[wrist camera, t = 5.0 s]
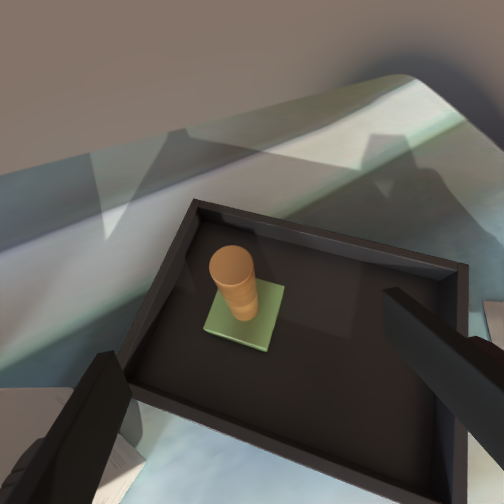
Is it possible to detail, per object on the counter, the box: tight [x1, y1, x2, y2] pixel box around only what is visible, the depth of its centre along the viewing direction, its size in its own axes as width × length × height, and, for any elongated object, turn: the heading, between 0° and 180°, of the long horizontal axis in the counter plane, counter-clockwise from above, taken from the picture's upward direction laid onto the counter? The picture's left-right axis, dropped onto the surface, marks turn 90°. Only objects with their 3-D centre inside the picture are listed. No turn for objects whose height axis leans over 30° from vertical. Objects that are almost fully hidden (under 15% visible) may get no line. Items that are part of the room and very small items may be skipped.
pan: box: [117, 199, 469, 504], centre depth 22 cm, size 24×17×3 cm
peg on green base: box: [203, 245, 284, 353], centre depth 19 cm, size 5×5×11 cm
